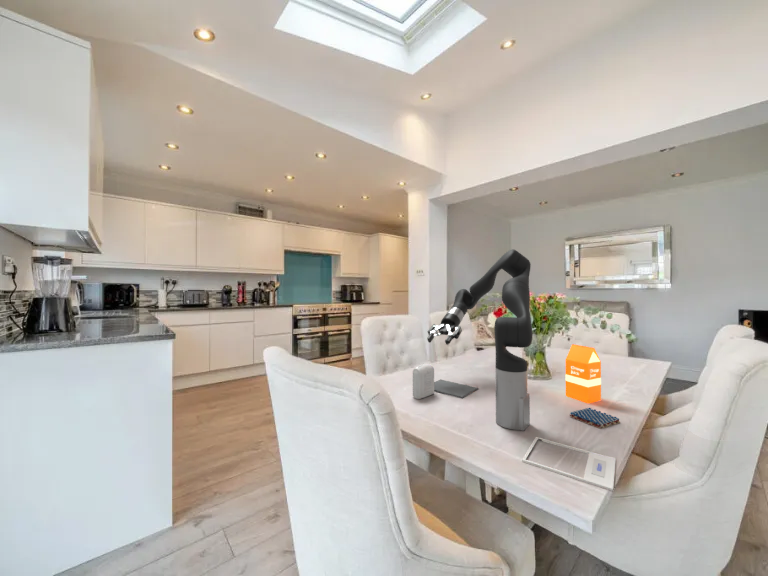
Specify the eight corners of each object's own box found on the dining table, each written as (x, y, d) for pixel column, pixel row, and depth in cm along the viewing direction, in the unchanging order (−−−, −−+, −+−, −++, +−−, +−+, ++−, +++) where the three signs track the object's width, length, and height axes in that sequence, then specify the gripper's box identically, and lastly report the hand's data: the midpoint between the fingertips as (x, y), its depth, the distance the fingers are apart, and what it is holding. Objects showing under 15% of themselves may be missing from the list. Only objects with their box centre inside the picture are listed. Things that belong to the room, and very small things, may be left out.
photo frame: (613, 488, 65) (521, 458, 76) (613, 493, 65) (522, 463, 76) (615, 457, 76) (536, 436, 88) (615, 462, 76) (536, 440, 88)
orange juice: (588, 403, 113) (587, 348, 113) (565, 396, 121) (565, 344, 121) (601, 400, 116) (601, 347, 116) (578, 393, 124) (578, 343, 124)
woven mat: (567, 417, 102) (567, 411, 102) (588, 412, 106) (588, 406, 106) (600, 431, 93) (600, 424, 93) (621, 424, 97) (621, 418, 97)
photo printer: (427, 391, 128) (427, 361, 128) (435, 393, 125) (435, 363, 125) (411, 397, 120) (410, 365, 120) (419, 400, 117) (419, 367, 117)
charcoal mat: (477, 389, 130) (477, 387, 130) (462, 398, 119) (462, 396, 119) (440, 380, 142) (440, 379, 142) (423, 388, 131) (423, 387, 131)
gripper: (469, 326, 138) (454, 350, 128) (441, 324, 148) (425, 346, 137) (465, 313, 135) (449, 336, 125) (436, 311, 145) (420, 333, 134)
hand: (437, 341), depth 131 cm, fingers open, 8 cm apart
